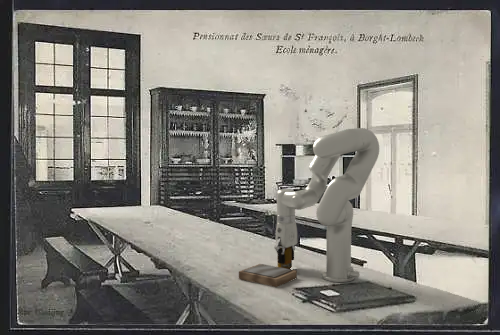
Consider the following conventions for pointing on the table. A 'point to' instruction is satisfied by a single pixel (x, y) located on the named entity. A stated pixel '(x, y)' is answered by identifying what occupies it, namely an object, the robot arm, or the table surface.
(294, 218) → the robot arm
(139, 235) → the table surface
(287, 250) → the condiment
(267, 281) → the tray
